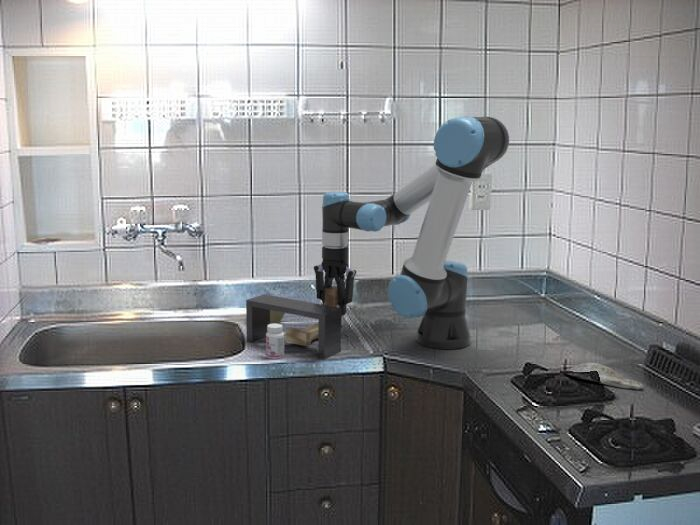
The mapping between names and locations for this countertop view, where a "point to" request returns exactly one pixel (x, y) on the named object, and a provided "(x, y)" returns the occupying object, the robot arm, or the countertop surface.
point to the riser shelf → (327, 315)
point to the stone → (608, 376)
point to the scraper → (311, 332)
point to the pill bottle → (275, 341)
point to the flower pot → (276, 316)
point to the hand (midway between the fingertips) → (333, 324)
